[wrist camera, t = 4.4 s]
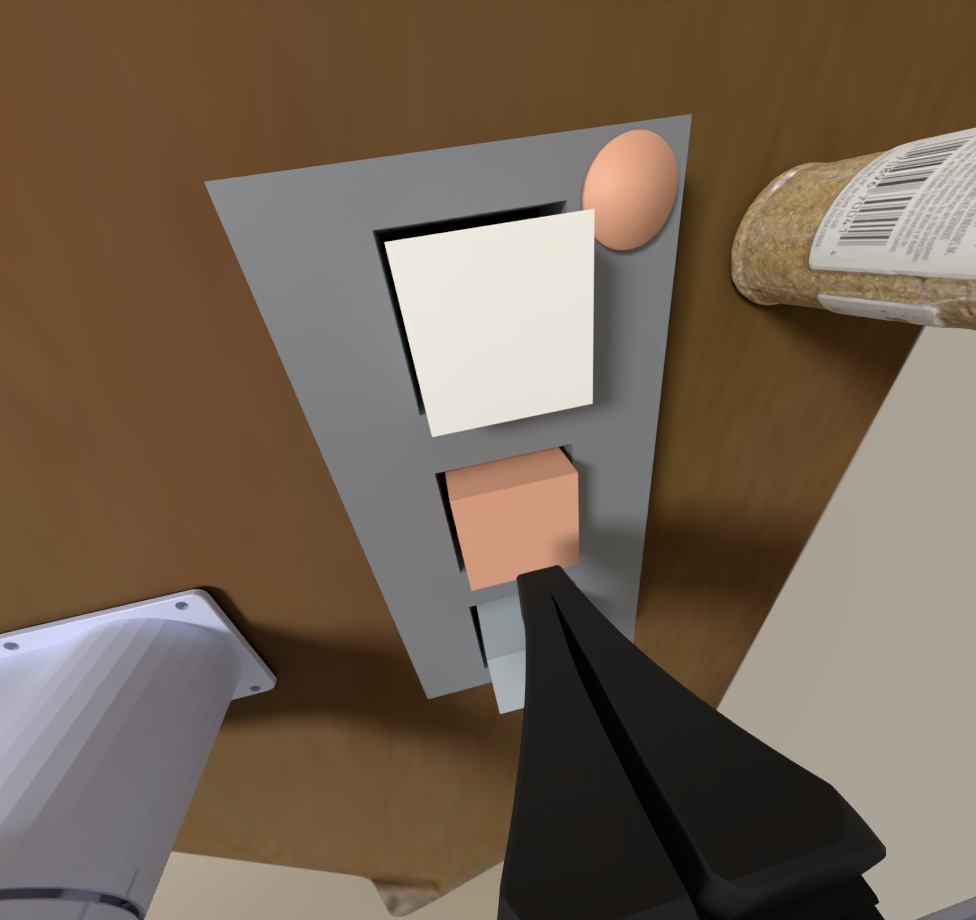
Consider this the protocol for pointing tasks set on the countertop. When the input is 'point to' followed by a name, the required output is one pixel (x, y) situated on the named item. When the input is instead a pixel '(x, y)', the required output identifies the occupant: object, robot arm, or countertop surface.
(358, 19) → the countertop surface
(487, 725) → the countertop surface
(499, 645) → the grey button
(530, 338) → the off-white button
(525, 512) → the terracotta button
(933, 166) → the spice jar
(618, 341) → the console
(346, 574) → the countertop surface
